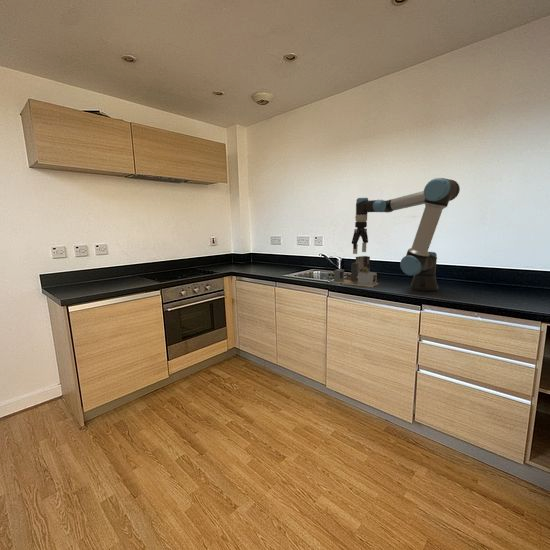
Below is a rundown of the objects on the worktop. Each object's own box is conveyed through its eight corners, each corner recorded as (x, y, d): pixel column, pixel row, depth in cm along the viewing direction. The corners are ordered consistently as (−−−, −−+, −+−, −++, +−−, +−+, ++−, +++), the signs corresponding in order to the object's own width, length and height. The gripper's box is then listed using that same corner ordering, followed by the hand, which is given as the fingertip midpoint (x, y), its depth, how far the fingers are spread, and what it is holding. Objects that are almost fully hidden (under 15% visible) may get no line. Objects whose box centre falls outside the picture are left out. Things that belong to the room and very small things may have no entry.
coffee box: (364, 275, 228) (364, 255, 226) (369, 277, 222) (370, 256, 220) (354, 276, 225) (355, 256, 222) (360, 278, 219) (360, 257, 216)
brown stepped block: (373, 282, 192) (374, 263, 190) (371, 283, 189) (372, 264, 187) (349, 280, 203) (349, 262, 201) (346, 281, 201) (347, 263, 199)
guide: (378, 284, 193) (378, 272, 192) (372, 287, 186) (373, 274, 184) (338, 280, 213) (338, 269, 211) (331, 282, 205) (331, 271, 204)
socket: (343, 280, 208) (344, 269, 207) (339, 281, 203) (339, 270, 201) (339, 279, 211) (339, 269, 210) (333, 281, 205) (334, 270, 204)
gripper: (364, 221, 203) (362, 251, 208) (347, 221, 185) (345, 254, 189) (374, 221, 199) (372, 251, 203) (357, 221, 180) (356, 255, 184)
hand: (359, 253), depth 196 cm, fingers open, 13 cm apart
